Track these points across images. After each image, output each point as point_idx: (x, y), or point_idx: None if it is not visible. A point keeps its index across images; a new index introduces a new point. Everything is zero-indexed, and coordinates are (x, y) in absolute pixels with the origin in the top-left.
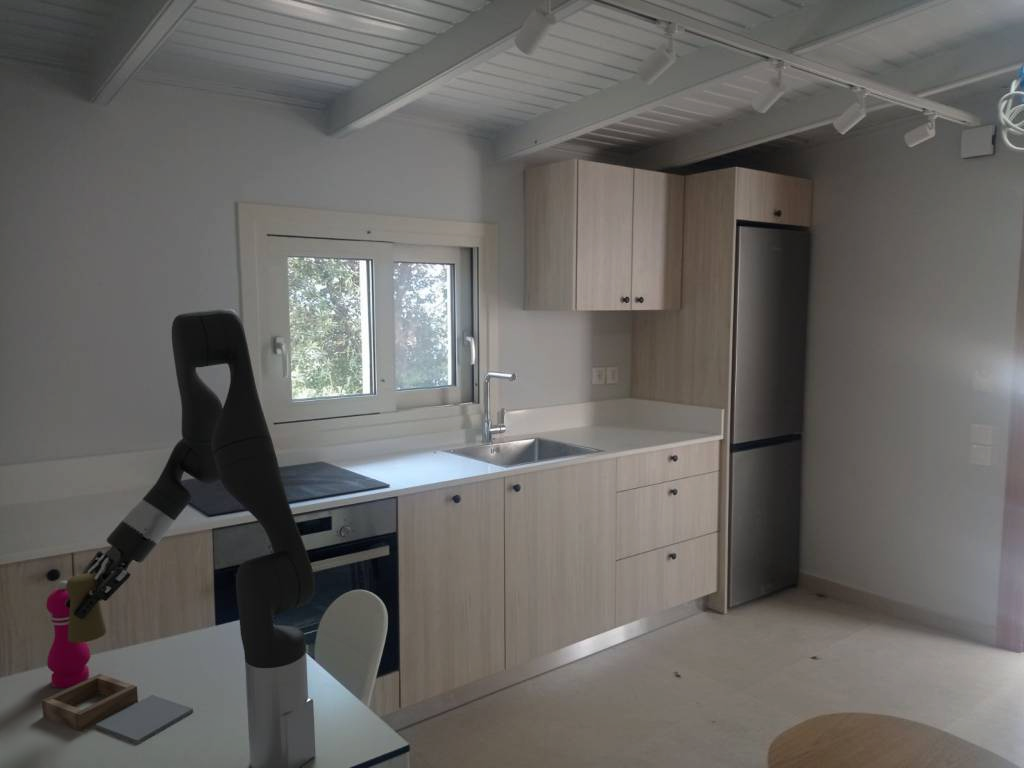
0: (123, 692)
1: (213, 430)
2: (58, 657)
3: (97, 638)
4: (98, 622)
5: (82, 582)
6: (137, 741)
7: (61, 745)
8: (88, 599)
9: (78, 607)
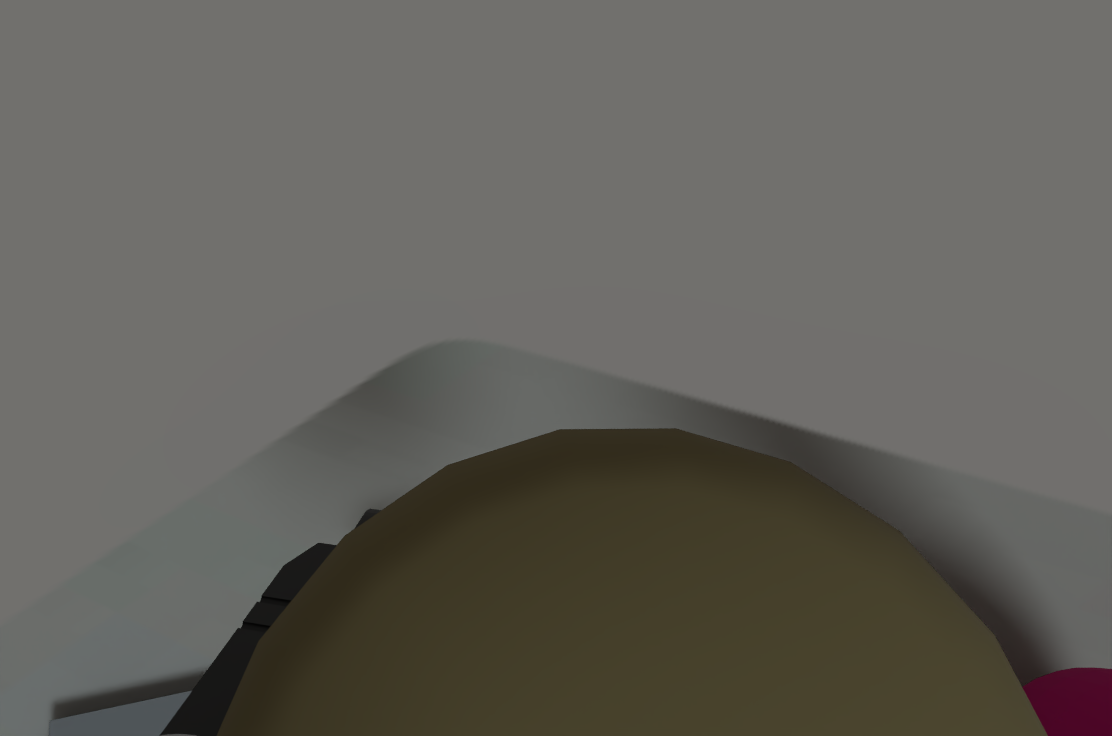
0: None
1: None
2: (1065, 709)
3: None
4: None
5: (250, 691)
6: (53, 721)
7: (366, 490)
8: (196, 719)
9: None
